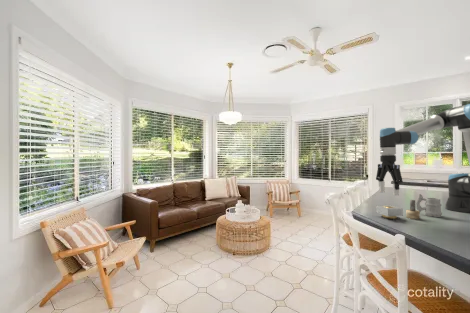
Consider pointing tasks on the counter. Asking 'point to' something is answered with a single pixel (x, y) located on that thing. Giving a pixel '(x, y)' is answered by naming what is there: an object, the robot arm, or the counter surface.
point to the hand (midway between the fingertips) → (388, 193)
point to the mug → (430, 206)
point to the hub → (389, 216)
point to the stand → (412, 211)
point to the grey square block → (389, 210)
